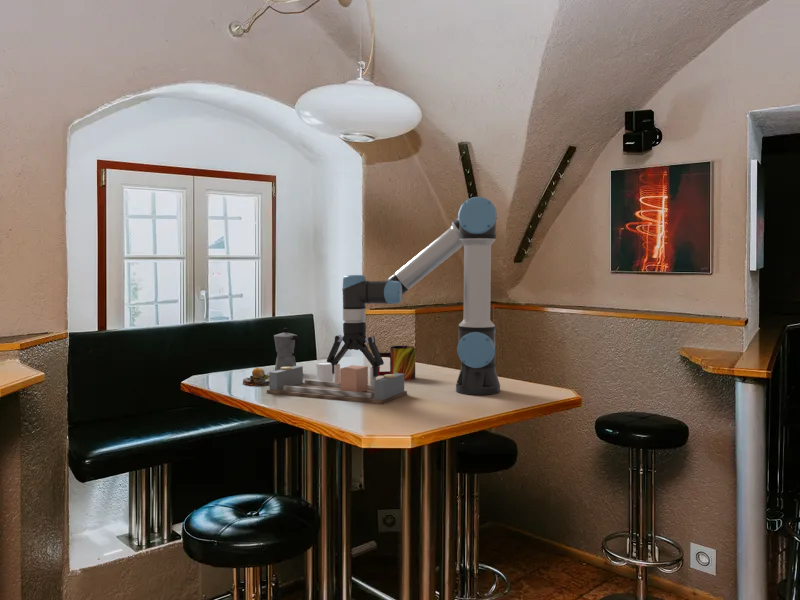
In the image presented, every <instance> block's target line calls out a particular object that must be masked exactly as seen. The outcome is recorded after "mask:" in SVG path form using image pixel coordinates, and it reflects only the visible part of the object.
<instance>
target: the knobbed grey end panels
mask: <svg viewBox="0 0 800 600" xmlns="http://www.w3.org/2000/svg"><path fill="white" fill-rule="evenodd" d="M303 369H304V367H303V366H301V365H296V366H293V367H281V370H277V371H275V370H272V371H270V372H268V373H269V374H268V376H269V385H268V386H269V389H270V390H280V389H284V386H294V385H298V384H301V383H303V382H304V378H303V377H304V374H303V371H304V370H303ZM404 391H405V380H404V374H401V373H395V374H386V375H384V376H383V377H382V378H379V379H376V380H375V400H385V399H387V398H390V397H392V396H395V395H397V394H400V393H402V392H404Z"/></svg>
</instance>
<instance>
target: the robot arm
mask: <svg viewBox="0 0 800 600" xmlns="http://www.w3.org/2000/svg"><path fill="white" fill-rule="evenodd" d="M457 214H458V215H457V218H456V219H454V220H453V221H452V222H451V226H450V227H449V228H448V229H447V230H445V231H444V232H443V233H442V234H441V235H439V236H438V237H437V238H436V239H435V240H434V241H432V242H431V243H430V244H428V245H427V246H426V247H425V248H424V249H422V250H421V251H420V252H418V254H416V255H415V256H414V257H412V259H410V260H409V261H407V263H406V264H404V265H403V266H401V267H400V268H399V269H398V270H397V271H395V273H393V274H392V275H390V276H389V277H388V278H387V279H386V280H366V276H365V275H364V274H345V275H344V276H343V277H342V290H341V291H342V320H343V321H344V322H343V323H342V332H343V335H341V334H338V335H335V336H334V341H333V344H332V347H331V349H330V352H329V354H328V357H327V359H326V362H328V363H331V364H332V373H333V374H334V380H333V382H334V384H340V369H341V364H340V361H341V359H342V358H343V357H344V356H345V354H346V353H347V352H348V350H351V351H352V350H355V351H360V352H361V353H362V354H363V355H364V357H365V359H367V362H369V363H370V365H371V366H370V367H369V371H370V372H369V374H370V375H369V376H370V380H369V381H370V383H369V385H370V387H375V380H377V377H379V376H378V367H379V366H384V364H385V362H384V360H383V357H381V355H380V353H381V352H380V351H379V349H378V347H377V343H376V338H375V336H369V337H367V335H366V334H367V323H366V322H365V321H366V320H367V319H366V317H367V315H366V314H367V313H366V311H367V310H366V308H367V307H366V304H367V305H368V304H369V305H370V304H372V305H373V304H377V305H378V304H380V305H381V304H382V305H386V304H387V305H393V304H394V305H395V304H396V305H397V304H400V303H401V302H402V299H403V295H404V294H405V293H407V292H408V291H409V290H410V289H411V288H412V287H414V286H415V285H416V284H418V282H420V281H421V280H423V278H426V276H428V275H429V274H430V273H431V272H432V271H434V270H435V269H436V268H437V267H438V266H440V265H441V264H442V263H443V262H444V263H445V261H446V260H448V259H449V258H450V257H451V256H453V254H455V253H456V252H457V251H459V250H460V249H461V248H462V247H463V316H462V317H463V319H462V321H461V322H460V323H459V324H458V343H457V347H456V351H457V355H458V358H459V359H460V364H461V365H460V371H459V374H458V377H457V379H456V383H455V391H456V392H458V393H460V394H465V395H474V396H475V395H476V396H480V395H481V396H483V395H484V396H487V395H494V394H495V393H496V394H498V392H499V393H500V392H501V384H500V381H499V380H500V379H499V377H498V373H497V371H496V336H497V331H496V325H495V324H494V323H493V321H492V320H491V295H492V293H491V286H492V285H491V284H492V282H491V281H492V280H491V279H492V278H491V277H492V276H491V275H492V268H491V267H492V245H493V243H495V241H496V240H497V235H496V234H497V216H498V215H497V214H498V213H497V209H496V207H495V205H494V203H493V202H492V201H491V200H490V199H489V198H486V197H483V196H474V197H470V198H468V199H466V200H465V201H464V202H462V204H461V205H460V207H459V210H458V212H457ZM342 342H343V343H344V344H343V345H342V347H341V349H340V346H341V343H342ZM366 343H367V344H368V346H369V348H368V346H367V344H366ZM339 349H340V350H339ZM369 349H370V350H369Z"/></svg>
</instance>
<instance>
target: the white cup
mask: <svg viewBox="0 0 800 600" xmlns="http://www.w3.org/2000/svg"><path fill="white" fill-rule="evenodd" d="M315 368H316V375H317V381H329V382H334V374H333V373H332V364H331V363H328V362H327V361H324V362H317V363H316V364H315Z"/></svg>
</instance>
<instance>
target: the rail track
mask: <svg viewBox="0 0 800 600" xmlns="http://www.w3.org/2000/svg"><path fill="white" fill-rule="evenodd" d="M266 394H271V395H273V394H274V395H281V396H282V395H284V396H293V397H304V398H312V399H313V398H314V399H325V400H336V401H344V402H355V403H357V402H358V403H366V402H367V403H368V404H376V403H377V404H378V405H385V404H386V403H389V402H392V401H393V400H396V399H398V398H402V397H404V396H406V395H407V394H408V390H404V392H402V393H400V394H397V395H395V396H392V397H390V398H387V399H385V400H375V387H370V384H368V390H367V391H364V392H353V391H341V390H340V384H334V381H333V382H329V381H318V379H317V380H316V379H315V380H314V379H305V380H304V381H303V383H301V384H298V385H294V386H284V389H280V390H270V388H268V389H266ZM356 401H357V402H356ZM367 403H366V404H367ZM384 403H385V404H384Z"/></svg>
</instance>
